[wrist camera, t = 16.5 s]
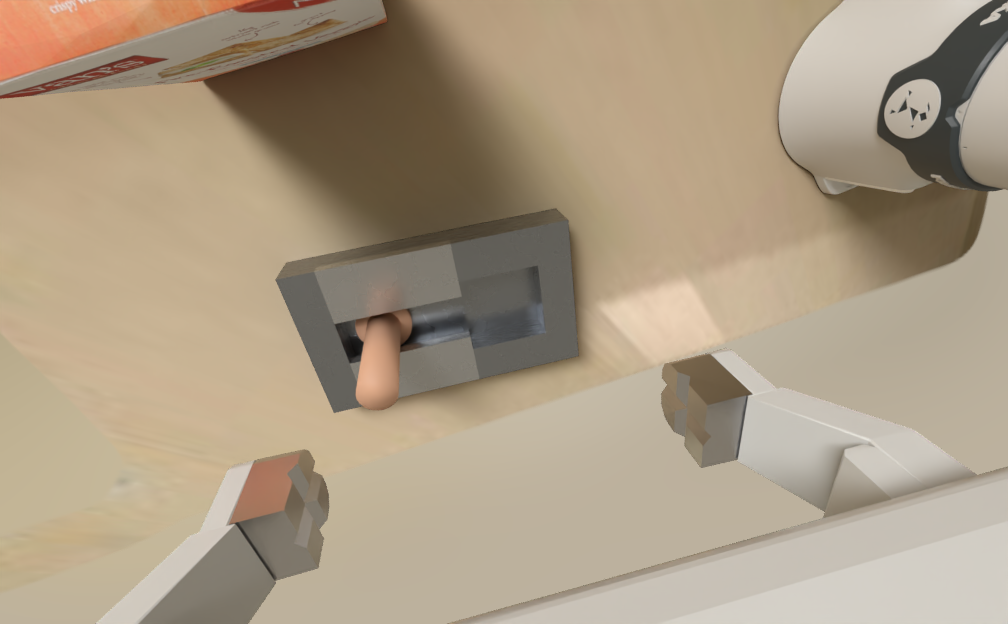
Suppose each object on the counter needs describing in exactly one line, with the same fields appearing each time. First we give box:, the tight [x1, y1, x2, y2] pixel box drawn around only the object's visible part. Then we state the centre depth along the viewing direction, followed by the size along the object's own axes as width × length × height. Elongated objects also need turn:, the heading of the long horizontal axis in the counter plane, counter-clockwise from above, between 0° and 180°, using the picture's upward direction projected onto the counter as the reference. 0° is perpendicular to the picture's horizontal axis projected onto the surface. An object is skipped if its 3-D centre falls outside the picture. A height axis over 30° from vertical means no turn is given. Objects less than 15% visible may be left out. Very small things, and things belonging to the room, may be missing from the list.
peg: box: [355, 308, 412, 410], centre depth 37 cm, size 5×5×11 cm
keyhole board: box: [276, 209, 579, 413], centre depth 42 cm, size 24×14×4 cm, turn 98°
